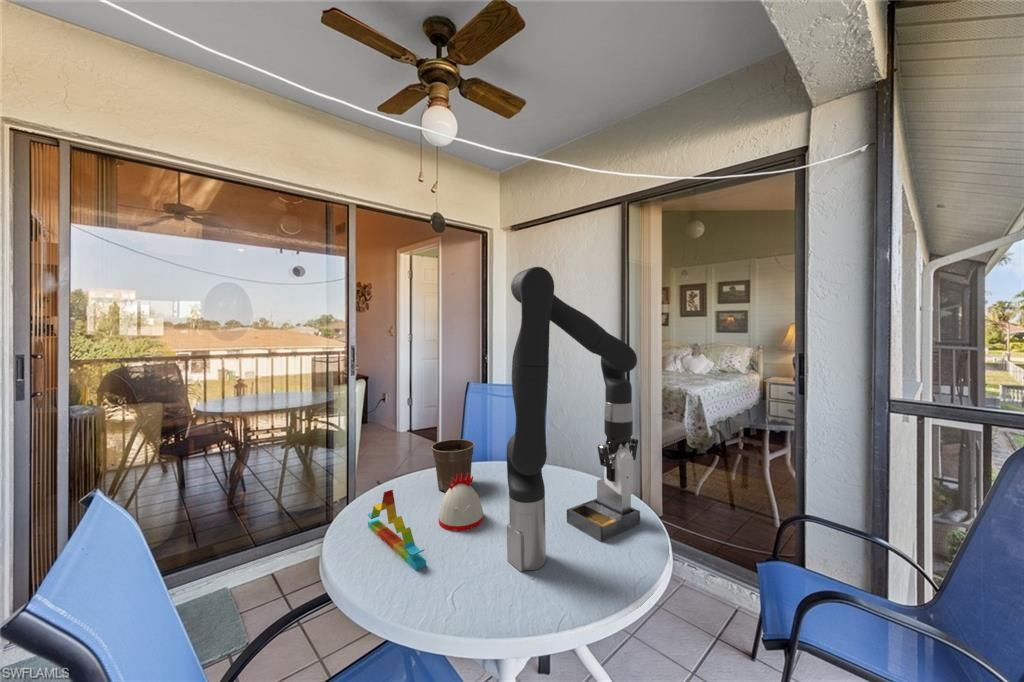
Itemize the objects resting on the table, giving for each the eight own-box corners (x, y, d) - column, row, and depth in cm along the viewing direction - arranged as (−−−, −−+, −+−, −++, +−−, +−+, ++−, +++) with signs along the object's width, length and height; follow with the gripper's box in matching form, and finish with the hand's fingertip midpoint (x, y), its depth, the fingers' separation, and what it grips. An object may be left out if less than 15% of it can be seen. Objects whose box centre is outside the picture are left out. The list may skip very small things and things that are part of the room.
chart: (427, 566, 105) (425, 509, 105) (415, 571, 103) (413, 513, 102) (378, 524, 128) (376, 477, 127) (368, 527, 126) (366, 479, 125)
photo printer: (635, 495, 109) (635, 449, 109) (621, 497, 108) (621, 451, 107) (615, 481, 119) (615, 439, 118) (602, 483, 118) (602, 440, 117)
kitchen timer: (487, 527, 124) (486, 478, 124) (441, 534, 120) (440, 484, 120) (478, 507, 138) (477, 463, 137) (436, 513, 134) (435, 468, 133)
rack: (600, 542, 114) (600, 503, 114) (566, 522, 126) (566, 487, 126) (640, 524, 124) (639, 488, 124) (605, 507, 136) (604, 474, 135)
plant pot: (430, 481, 161) (429, 441, 160) (470, 476, 165) (469, 436, 165) (435, 498, 145) (433, 453, 144) (479, 492, 150) (478, 448, 149)
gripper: (610, 424, 105) (610, 489, 106) (646, 416, 113) (646, 477, 114) (589, 418, 112) (589, 480, 113) (625, 412, 120) (625, 469, 120)
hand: (618, 478), depth 113 cm, fingers closed on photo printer, 5 cm apart
